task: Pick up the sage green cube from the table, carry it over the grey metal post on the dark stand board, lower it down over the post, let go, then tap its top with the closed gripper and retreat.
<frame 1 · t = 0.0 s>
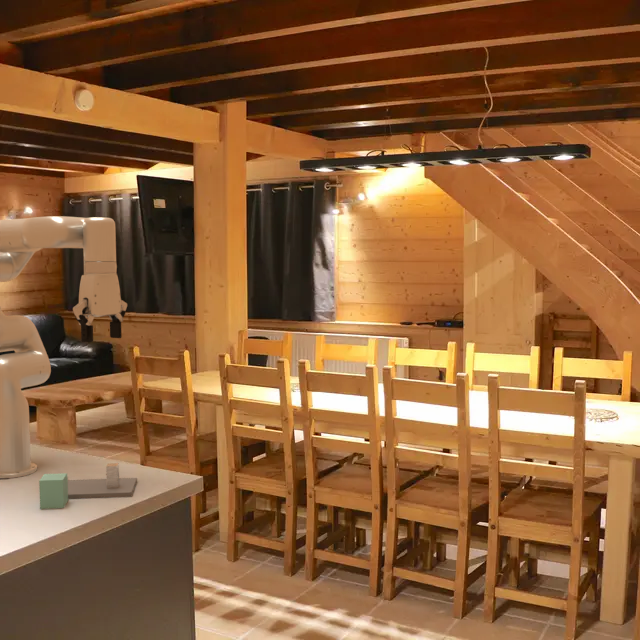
hand: (101, 339, 185), 37 cm above the table, tool pointing down, fingers open, 9 cm apart
sage green cube: (54, 504, 176), on the table
stand board: (96, 490, 187), on the table
post: (113, 490, 187), resting on stand board
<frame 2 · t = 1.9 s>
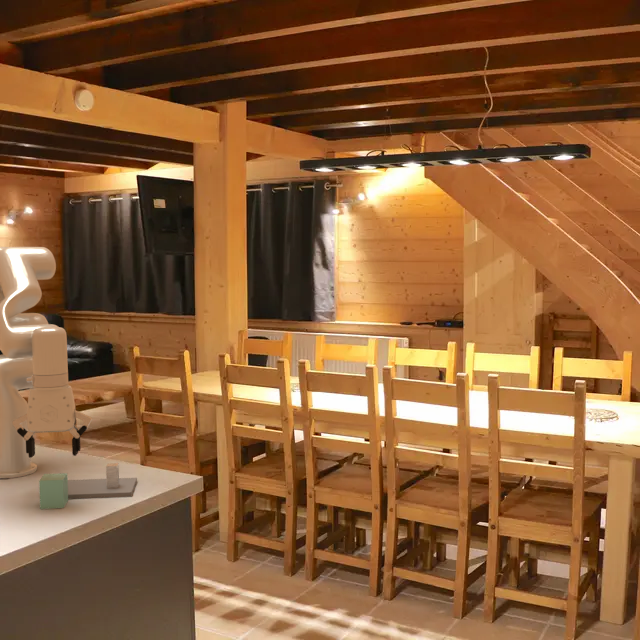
hand: (53, 455, 175), 12 cm above the table, tool pointing down, fingers open, 9 cm apart
nothing on the table moved.
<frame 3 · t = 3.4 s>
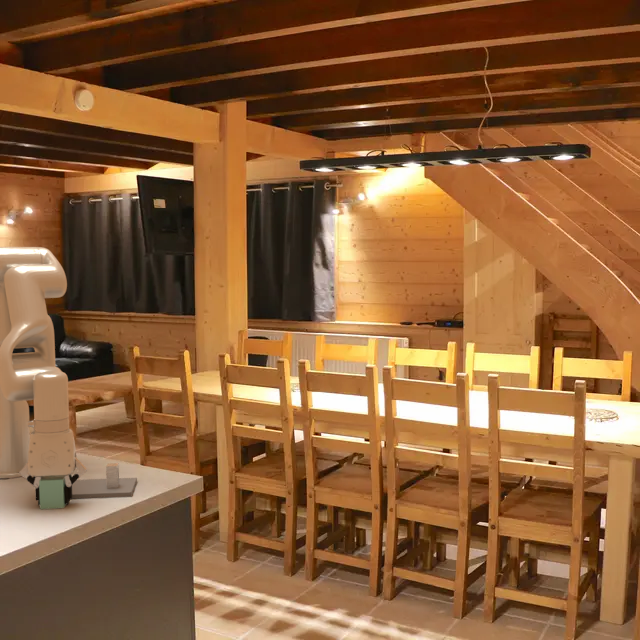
hand: (54, 501, 176), 1 cm above the table, tool pointing down, fingers closed on sage green cube, 5 cm apart
sage green cube: (54, 504, 176), on the table, touching gripper
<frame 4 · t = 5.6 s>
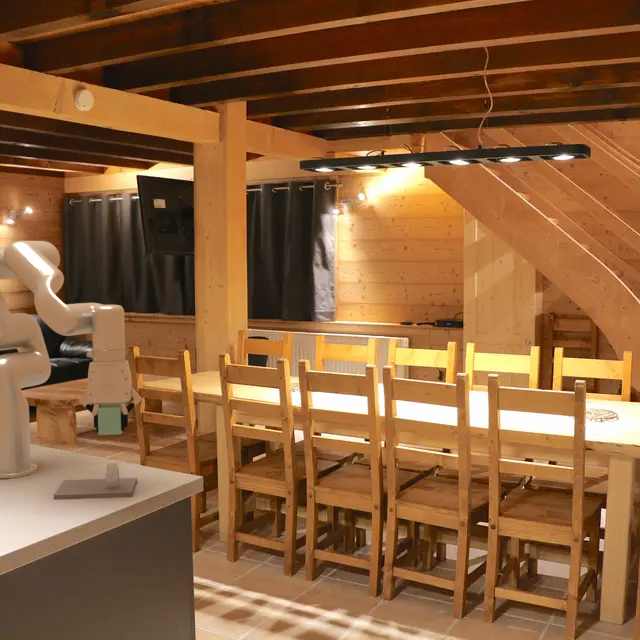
hand: (111, 429, 185), 15 cm above the table, tool pointing down, fingers closed on sage green cube, 5 cm apart
sage green cube: (111, 432, 185), point 15 cm above the table, touching gripper
when the fingers open (3 cm above the table, at t = 8.0 s): sage green cube drops 1 cm, resting on stand board.
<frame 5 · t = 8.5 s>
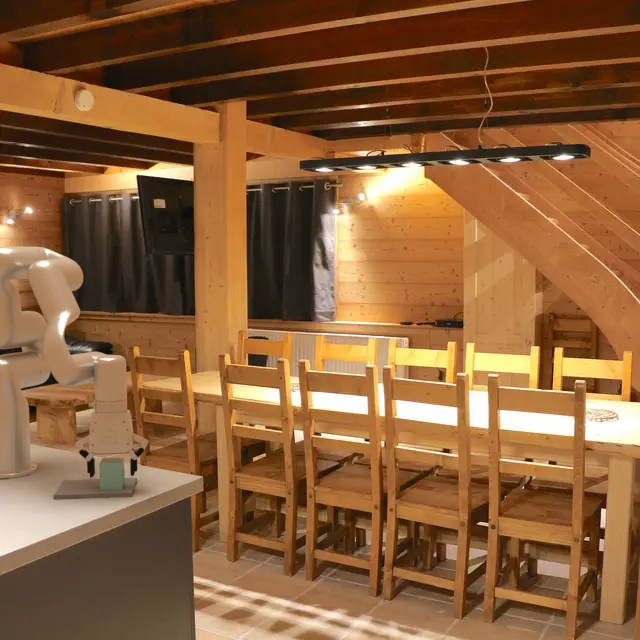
hand: (112, 475, 186), 4 cm above the table, tool pointing down, fingers open, 9 cm apart
sage green cube: (112, 486, 187), point 1 cm above the table, touching stand board
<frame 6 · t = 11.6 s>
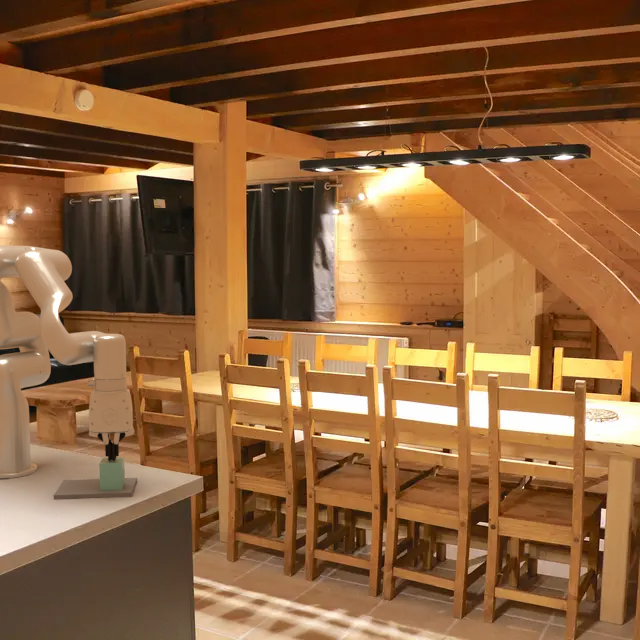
hand: (112, 459, 186), 8 cm above the table, tool pointing down, fingers closed
nothing on the table moved.
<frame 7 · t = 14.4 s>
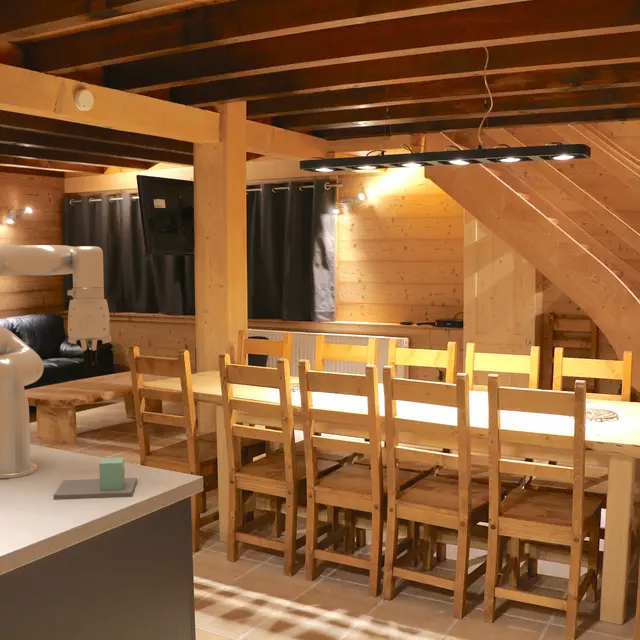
hand: (90, 365, 197), 29 cm above the table, tool pointing down, fingers closed
nothing on the table moved.
at the end: sage green cube 0.1 cm from the post (horizontally); sage green cube point 1.0 cm above the table; the gripper is holding nothing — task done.
